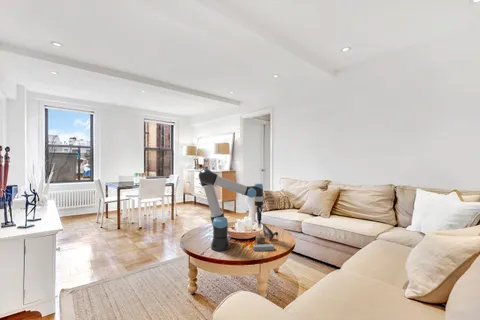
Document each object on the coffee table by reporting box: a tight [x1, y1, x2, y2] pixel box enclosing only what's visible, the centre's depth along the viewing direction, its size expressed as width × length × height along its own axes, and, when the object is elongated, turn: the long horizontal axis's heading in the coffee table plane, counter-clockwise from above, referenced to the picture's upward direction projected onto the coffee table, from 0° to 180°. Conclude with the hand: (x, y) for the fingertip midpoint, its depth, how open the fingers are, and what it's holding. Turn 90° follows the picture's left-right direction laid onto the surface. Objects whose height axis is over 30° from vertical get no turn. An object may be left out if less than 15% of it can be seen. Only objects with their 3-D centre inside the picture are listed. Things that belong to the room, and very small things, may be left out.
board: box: [252, 243, 275, 252], centre depth 186 cm, size 16×5×3 cm, turn 94°
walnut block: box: [255, 234, 266, 245], centre depth 200 cm, size 7×7×6 cm
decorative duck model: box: [262, 224, 279, 240], centre depth 210 cm, size 15×8×15 cm, turn 52°
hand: (259, 227), depth 209 cm, fingers closed
